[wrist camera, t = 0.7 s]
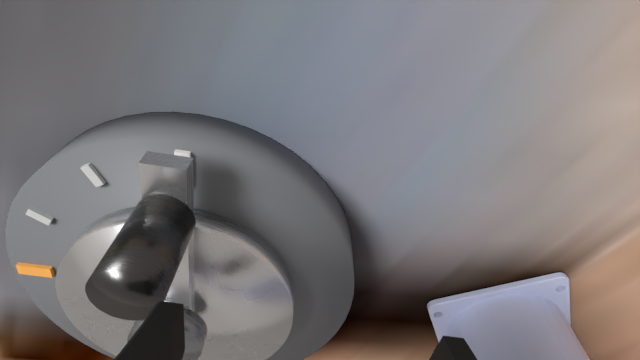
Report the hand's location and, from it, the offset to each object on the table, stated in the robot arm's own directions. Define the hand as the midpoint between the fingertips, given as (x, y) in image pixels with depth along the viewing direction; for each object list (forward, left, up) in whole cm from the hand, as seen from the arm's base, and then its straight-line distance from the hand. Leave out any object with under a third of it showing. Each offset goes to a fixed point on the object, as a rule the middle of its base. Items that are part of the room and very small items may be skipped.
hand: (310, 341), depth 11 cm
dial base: (-3, +8, -9) cm, 13 cm away
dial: (-2, +7, -7) cm, 10 cm away
